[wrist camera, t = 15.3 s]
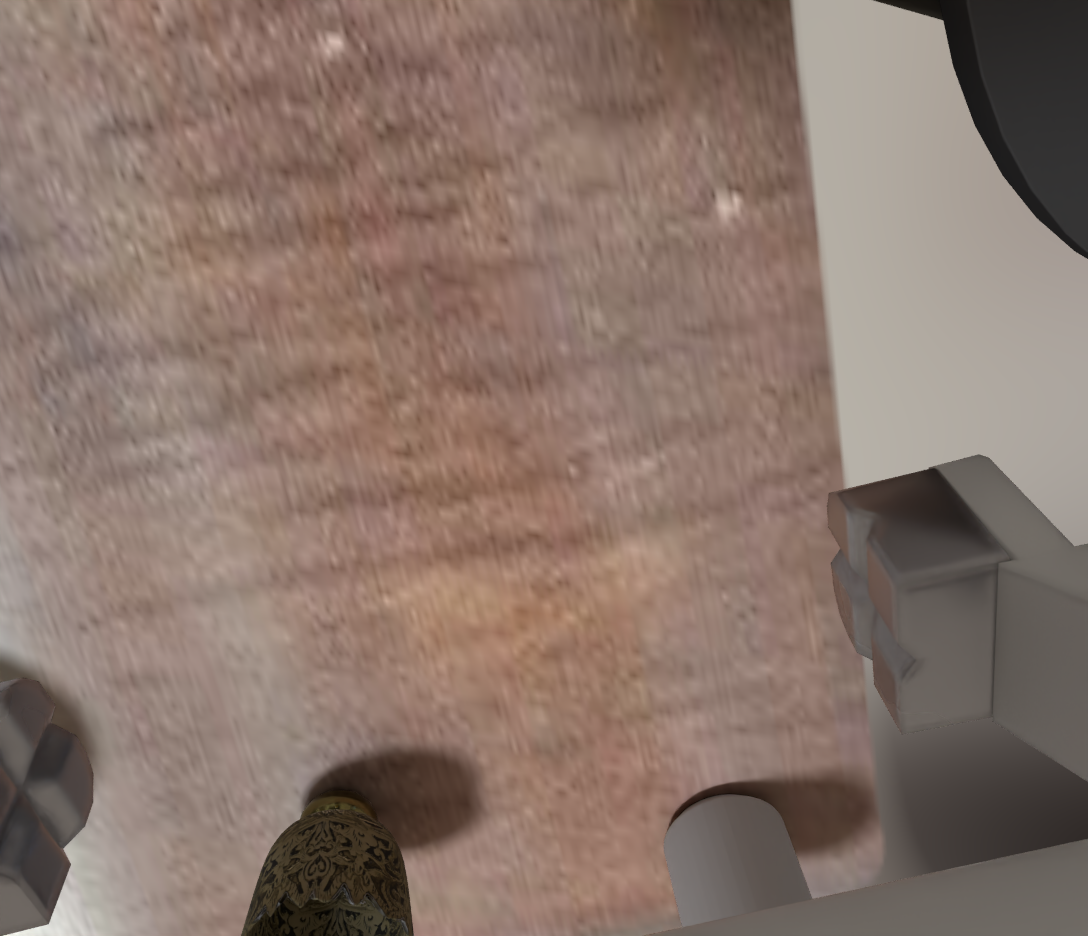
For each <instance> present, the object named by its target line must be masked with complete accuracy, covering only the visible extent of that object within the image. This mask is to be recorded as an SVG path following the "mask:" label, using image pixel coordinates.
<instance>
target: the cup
mask: <svg viewBox="0 0 1088 936" xmlns="http://www.w3.org/2000/svg"><path fill="white" fill-rule="evenodd" d="M241 936H414V934H413V924H412V914H411V906H410V897H409V889H408V882H407V875H406V870H405V865H404V861H403V857H402V854H401V851H400V848H399V846H398V844H397V842H396V841H395V839H394V837H393V836H392V834H391V833H390V832H389V831H388V830H387V829H386V828H385V827H384V826H383V825H382V824H381V823H380V822H378V818H377V814H376V812H375V809H374V807H373V806H372V804H371V803H370V801H369V800H368V799H367V798H365V797H364V796H362V795H361V794H358V793H356V792H353V791H348V790H333V791H328V792H325V793H322V794H320V795H318V796H316V797H315V798H314V799H313V800H311V801H310V803H309V804H308V805H307V806H306V808H305V809H304V811H303V813H302V815H301V818H300V820H298V821H296V822H295V823H293V824H292V825H291V826H289V827H288V828H287V829H286V830H285V831H284V832H283V833H282V834H281V835H280V836H279V838H278V839H277V840H276V842H275V843H274V845H273V846H272V848H271V850H270V852H269V854H268V856H267V858H266V860H265V863H264V865H263V868H262V870H261V873H260V876H259V879H258V882H257V885H256V888H255V891H254V894H253V898H252V901H251V904H250V908H249V911H248V914H247V918H246V921H245V924H244V928H243V931H242V934H241Z"/></svg>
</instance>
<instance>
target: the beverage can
mask: <svg viewBox="0 0 1088 936" xmlns="http://www.w3.org/2000/svg"><path fill="white" fill-rule="evenodd" d="M664 853H665V857H666V861H667V866H668V870H669V874H670V878H671V882H672V886H673V891H674V895H675V899H676V903H677V907H678V911H679V916H680V920H681V924H682V927H685V926H690V925H695V924H699V923H704V922H709V921H713V920H718V919H722V918H727V917H732V916H736V915H741V914H746V913H750V912H755V911H759V910H764V909H769V908H773V907H778V906H782V905H787V904H792V903H796V902H801V901H806V900H810V899H812V897H811V894H810V891H809V888H808V886H807V883H806V880H805V878H804V875H803V872H802V870H801V867H800V864H799V862H798V859H797V856H796V854H795V851H794V848H793V846H792V843H791V840H790V838H789V835H788V832H787V830H786V827H785V824H784V821H783V819H782V817H781V815H780V814H779V812H778V811H777V810H776V809H775V808H774V807H773V806H771V805H770V804H769V803H767V802H765V801H763V800H760V799H758V798H754V797H750V796H744V795H736V794H725V795H717V796H713V797H709V798H706V799H703V800H701V801H698V802H696V803H695V804H693V805H691V806H690V807H688V808H687V809H686V810H684V811H683V812H682V813H681V814H680V816H679V817H678V818H677V819H676V820H675V821H674V822H673V823H672V825H671V826H670V827H669V829H668V831H667V833H666V836H665V839H664Z"/></svg>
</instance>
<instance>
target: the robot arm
mask: <svg viewBox="0 0 1088 936" xmlns="http://www.w3.org/2000/svg"><path fill="white" fill-rule="evenodd" d="M827 517H828V528H829V530H830V531H831V533H832V535H833V536H834V538H835V540H836V542H837V543H838V545H839V547H840V550H839V551H838V553H837V554H836V556H835V558H834V559H833V561H832V562H831V568H832V577H833V586H834V592H835V596H836V600H837V605H838V609H839V613H840V616H841V619H842V621H843V624H844V627H845V629H846V632H847V634H848V636H849V638H850V640H851V642H852V644H853V646H854V648H855V650H856V652H857V653H859V654H861V655H863V656H865V657H867V658H869V659H871V660H873V672H874V685H875V687H876V689H877V691H878V692H879V694H880V696H881V698H882V700H883V702H884V703H885V705H886V707H887V709H888V711H889V712H890V714H891V716H892V718H893V720H894V721H895V723H896V725H897V727H898V728H899V730H900V732H901V734H902V735H903V734H907V733H913V732H918V731H923V730H928V729H934V728H939V727H944V726H949V725H954V724H959V723H964V722H970V721H975V720H980V719H985V718H990V717H993V722H994V723H996V724H998V725H1000V726H1001V727H1002V728H1004V729H1006V730H1007V731H1009V732H1011V733H1012V734H1013V735H1015V736H1017V737H1018V738H1020V739H1022V740H1023V741H1025V742H1026V743H1028V744H1029V745H1031V746H1032V747H1034V748H1036V749H1037V750H1039V751H1040V752H1042V753H1043V754H1045V755H1047V756H1049V757H1050V758H1051V759H1053V760H1055V761H1056V762H1058V763H1060V764H1061V765H1062V766H1064V767H1066V768H1067V769H1069V770H1070V771H1072V772H1074V773H1075V774H1077V775H1078V776H1080V777H1081V778H1083V779H1085V780H1086V781H1088V544H1084V545H1079V546H1075V547H1074V546H1073V544H1072V543H1071V542H1070V541H1069V540H1068V539H1067V538H1066V537H1065V536H1064V535H1063V534H1062V533H1061V532H1060V531H1059V530H1058V529H1057V528H1056V527H1055V526H1054V525H1053V524H1052V523H1051V522H1050V521H1049V520H1048V519H1047V517H1046V516H1045V515H1044V514H1043V513H1042V512H1041V511H1040V510H1039V509H1038V508H1037V507H1036V506H1035V505H1034V504H1033V503H1032V502H1031V501H1030V500H1029V499H1028V498H1027V497H1026V496H1025V495H1024V494H1023V493H1022V492H1021V490H1020V489H1018V487H1017V486H1016V485H1015V484H1014V483H1013V482H1012V481H1011V480H1010V479H1009V478H1008V477H1007V476H1006V475H1005V474H1004V473H1003V472H1002V471H1001V470H1000V469H999V468H998V467H997V466H996V465H995V464H994V462H992V460H991V459H990V458H988V457H985V456H982V455H975V456H971V457H967V458H963V459H960V460H956V461H952V462H948V463H944V464H941V465H937V466H933V467H929V469H927V470H923V471H919V472H915V473H911V474H906V475H902V476H898V477H894V478H890V479H885V480H881V481H877V482H873V483H869V484H865V485H860V486H856V487H852V488H848V489H843V490H839V491H835V492H831V493H829V494H828V502H827ZM54 709H55V703H54V702H53V700H52V699H51V698H50V696H49V695H48V694H47V692H46V691H45V689H44V688H43V687H42V685H41V684H40V683H39V681H35V680H31V679H26V678H19V679H14V680H9V681H4V682H0V936H3V935H7V934H11V933H15V932H19V931H23V930H27V929H31V928H35V927H39V926H43V925H47V924H49V922H50V919H51V916H52V914H53V911H54V908H55V906H56V903H57V900H58V898H59V895H60V892H61V890H62V887H63V884H64V882H65V879H66V876H67V874H68V871H69V868H70V866H71V863H70V862H69V860H68V858H67V856H66V854H65V852H64V850H63V848H64V847H65V846H66V845H67V844H68V843H69V842H70V841H71V840H72V839H73V838H74V837H75V836H76V835H77V834H78V833H79V832H80V831H81V830H82V829H83V828H84V827H85V825H86V822H87V819H88V816H89V813H90V810H91V807H92V804H93V771H92V768H91V764H90V761H89V758H88V755H87V752H86V751H85V749H84V747H83V746H82V744H81V743H80V741H79V740H78V738H77V736H76V735H74V734H72V733H70V732H68V731H66V730H64V729H62V728H60V727H58V726H56V725H54V724H52V723H51V721H52V717H53V713H54ZM644 936H1088V839H1086V840H1081V841H1076V842H1072V843H1067V844H1063V845H1058V846H1053V847H1049V848H1045V849H1040V850H1035V851H1031V852H1026V853H1021V854H1017V855H1012V856H1008V857H1003V858H998V859H994V860H989V861H985V862H980V863H976V864H971V865H966V866H962V867H957V868H953V869H948V870H943V871H939V872H934V873H930V874H925V875H920V876H916V877H912V878H907V879H902V880H897V881H893V882H888V883H884V884H879V885H875V886H870V887H865V888H861V889H856V890H852V891H847V892H842V893H838V894H833V895H829V896H824V897H819V898H815V899H810V900H806V901H801V902H796V903H792V904H787V905H782V906H778V907H773V908H769V909H764V910H759V911H755V912H750V913H746V914H741V915H736V916H732V917H727V918H722V919H718V920H713V921H709V922H704V923H699V924H695V925H690V926H685V927H681V928H676V929H672V930H667V931H662V932H658V933H653V934H649V935H644Z"/></svg>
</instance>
